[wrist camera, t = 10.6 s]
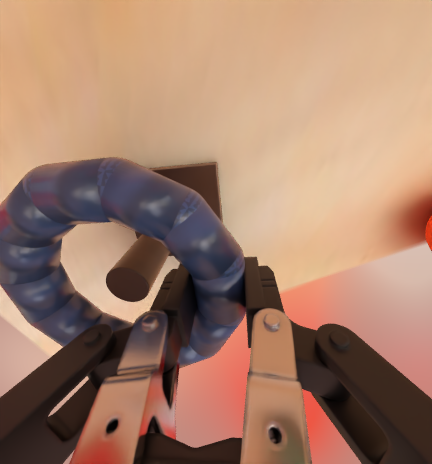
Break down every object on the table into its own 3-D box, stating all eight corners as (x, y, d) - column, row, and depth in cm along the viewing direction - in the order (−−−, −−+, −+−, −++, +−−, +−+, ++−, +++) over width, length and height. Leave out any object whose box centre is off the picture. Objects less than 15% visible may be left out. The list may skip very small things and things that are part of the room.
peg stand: (217, 161, 19) (196, 200, 9) (225, 246, 23) (217, 341, 13) (125, 170, 20) (10, 214, 10) (147, 250, 24) (82, 340, 14)
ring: (238, 140, 9) (237, 146, 6) (249, 342, 14) (251, 384, 12) (-22, 169, 10) (-97, 182, 8) (81, 339, 16) (54, 375, 14)
